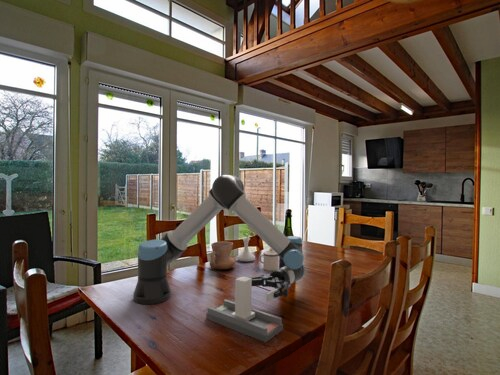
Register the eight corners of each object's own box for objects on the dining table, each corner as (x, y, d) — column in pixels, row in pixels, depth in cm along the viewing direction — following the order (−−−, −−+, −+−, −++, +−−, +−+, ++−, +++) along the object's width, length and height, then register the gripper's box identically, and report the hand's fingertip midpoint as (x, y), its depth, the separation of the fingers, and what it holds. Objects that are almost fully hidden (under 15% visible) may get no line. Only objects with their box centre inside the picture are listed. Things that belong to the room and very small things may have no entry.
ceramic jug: (222, 262, 180) (222, 239, 180) (241, 266, 172) (241, 242, 171) (201, 270, 166) (201, 244, 165) (220, 274, 157) (220, 248, 157)
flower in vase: (240, 263, 178) (241, 222, 177) (234, 259, 188) (234, 220, 188) (260, 261, 183) (261, 221, 182) (252, 257, 193) (253, 219, 193)
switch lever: (231, 317, 102) (231, 279, 102) (241, 311, 107) (242, 275, 107) (244, 323, 98) (245, 283, 98) (255, 316, 103) (255, 278, 103)
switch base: (206, 318, 106) (206, 307, 106) (224, 309, 114) (224, 298, 114) (266, 342, 91) (266, 330, 91) (282, 330, 99) (283, 318, 99)
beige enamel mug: (281, 267, 170) (281, 247, 170) (275, 272, 162) (275, 251, 162) (262, 265, 176) (262, 245, 176) (255, 268, 168) (255, 248, 167)
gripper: (309, 294, 115) (281, 313, 98) (257, 280, 130) (225, 295, 113) (309, 275, 115) (282, 290, 98) (257, 263, 130) (225, 275, 112)
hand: (251, 293), depth 105 cm, fingers open, 13 cm apart
